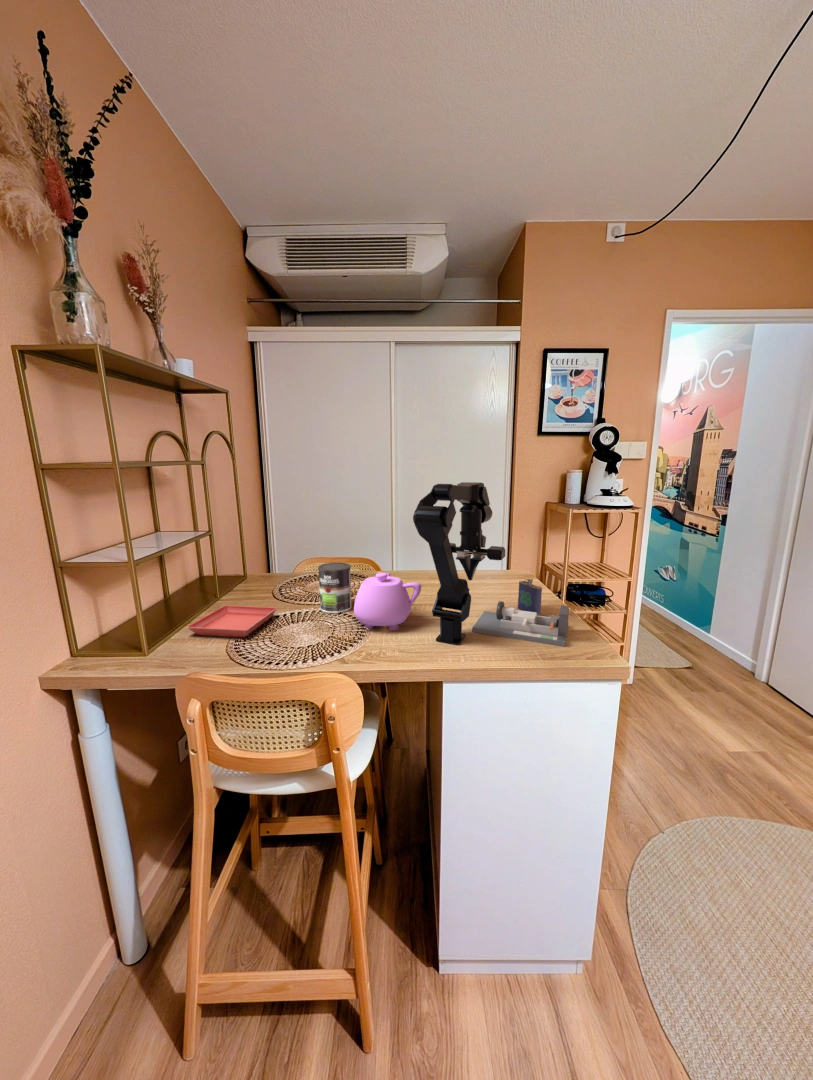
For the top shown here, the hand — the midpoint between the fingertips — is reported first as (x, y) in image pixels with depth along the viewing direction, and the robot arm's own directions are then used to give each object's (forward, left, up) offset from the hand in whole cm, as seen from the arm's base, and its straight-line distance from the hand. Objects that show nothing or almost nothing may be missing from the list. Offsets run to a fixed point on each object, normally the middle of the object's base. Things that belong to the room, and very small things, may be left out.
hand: (470, 580), depth 117 cm
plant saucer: (-30, +62, -13) cm, 70 cm away
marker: (-3, -23, -11) cm, 26 cm away
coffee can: (-6, +43, -13) cm, 45 cm away
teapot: (-9, +22, -13) cm, 27 cm away
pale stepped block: (-3, -13, -11) cm, 18 cm away
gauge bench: (-1, -15, -12) cm, 19 cm away
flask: (+14, -15, -13) cm, 24 cm away
